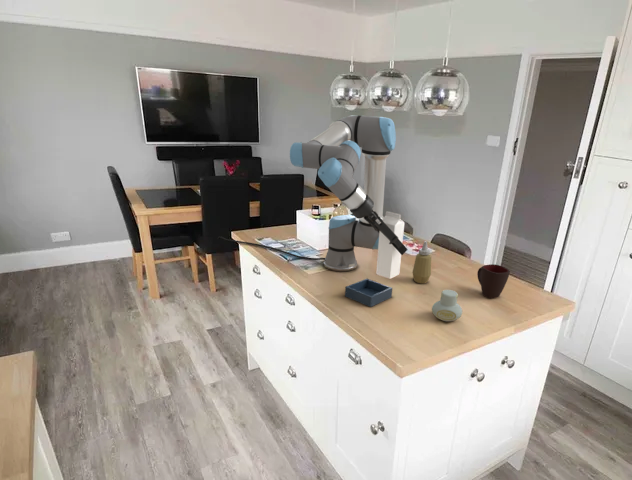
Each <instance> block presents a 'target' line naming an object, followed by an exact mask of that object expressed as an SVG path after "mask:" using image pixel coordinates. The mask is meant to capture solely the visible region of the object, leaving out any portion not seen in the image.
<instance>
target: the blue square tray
mask: <svg viewBox="0 0 632 480" xmlns="http://www.w3.org/2000/svg"><path fill="white" fill-rule="evenodd" d="M344 290H345V291H344V297H345V298H348V299H350V300H353V301H355V302H357V303H360V304H362V305H364V306H367V307H369V308H372V307H375V306H376V305H379V304H380V303H383V302H385V301H387V300H389V299H391V298H393V287H391V286H389V285H386V284H383V283H381V282H378V281H375V280H373V279H369V278H364V279H362V280H359V281H357V282H354V283H352V284H348V285H347V286H345V287H344Z"/></svg>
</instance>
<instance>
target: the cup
mask: <svg viewBox="0 0 632 480" xmlns="http://www.w3.org/2000/svg"><path fill="white" fill-rule="evenodd" d="M510 274H511V271H510V269H508V268H507V267H504V266H502V265H500V264H484V265H482V266H481V267H479V268H478V269H477V273H476V275H477V280H478V283H479V285H480V288H481V294H482V295H483V296H484V297H485V298H487V299H498V298H500V295H501V294H502V293H503V291H504V289H505V288H506V287H505V286H506V284H507V282H508V280H509V277H510Z"/></svg>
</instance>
